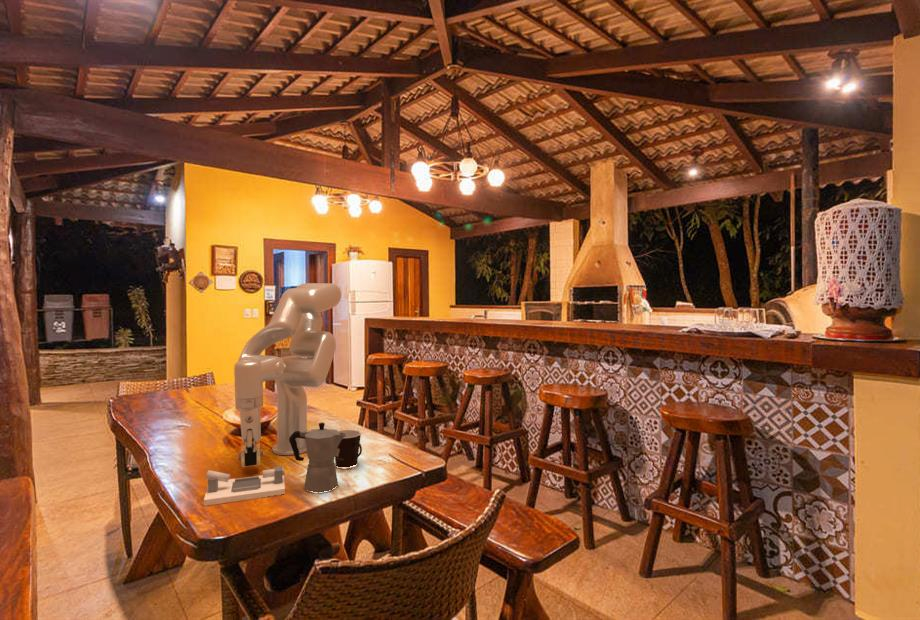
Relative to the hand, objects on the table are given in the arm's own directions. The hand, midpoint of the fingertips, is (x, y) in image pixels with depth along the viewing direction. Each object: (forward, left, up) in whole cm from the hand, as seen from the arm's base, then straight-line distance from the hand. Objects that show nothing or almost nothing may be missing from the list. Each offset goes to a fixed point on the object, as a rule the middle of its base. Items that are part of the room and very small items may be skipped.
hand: (251, 461), depth 137 cm
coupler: (0, 0, -1) cm, 1 cm away
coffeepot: (-17, +18, -3) cm, 25 cm away
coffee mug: (-27, +6, -3) cm, 28 cm away
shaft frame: (+1, +14, -3) cm, 14 cm away
